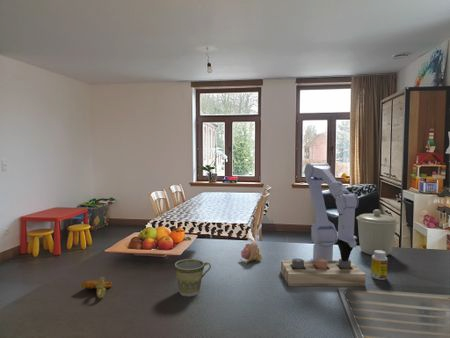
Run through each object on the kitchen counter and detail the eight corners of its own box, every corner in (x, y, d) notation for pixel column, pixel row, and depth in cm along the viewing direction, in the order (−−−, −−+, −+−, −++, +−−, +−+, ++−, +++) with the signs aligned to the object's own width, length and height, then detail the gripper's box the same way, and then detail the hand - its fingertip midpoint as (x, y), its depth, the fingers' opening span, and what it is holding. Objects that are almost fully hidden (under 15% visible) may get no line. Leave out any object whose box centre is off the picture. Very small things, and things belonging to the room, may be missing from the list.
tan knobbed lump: (260, 258, 149) (269, 248, 143) (251, 274, 142) (260, 264, 136) (244, 246, 151) (251, 235, 144) (234, 261, 144) (241, 251, 137)
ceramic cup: (180, 301, 106) (180, 271, 105) (170, 289, 115) (170, 261, 114) (216, 293, 112) (217, 264, 111) (204, 282, 121) (205, 255, 120)
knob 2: (336, 267, 128) (336, 258, 128) (347, 267, 128) (348, 258, 128) (340, 271, 124) (341, 262, 123) (352, 271, 124) (352, 262, 123)
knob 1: (290, 267, 127) (291, 258, 127) (302, 267, 127) (302, 258, 127) (293, 271, 123) (293, 262, 123) (305, 271, 123) (305, 262, 123)
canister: (394, 262, 144) (397, 215, 143) (351, 254, 154) (353, 210, 152) (398, 251, 160) (400, 208, 158) (358, 245, 169) (360, 204, 168)
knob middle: (313, 267, 128) (314, 258, 127) (324, 267, 128) (325, 258, 127) (317, 271, 123) (317, 262, 123) (328, 271, 123) (329, 262, 123)
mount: (280, 271, 132) (281, 260, 132) (349, 271, 133) (349, 260, 133) (288, 286, 118) (289, 274, 118) (365, 286, 119) (365, 274, 119)
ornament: (79, 272, 116) (89, 277, 104) (109, 273, 122) (121, 278, 110) (75, 293, 115) (85, 300, 102) (106, 292, 120) (118, 299, 108)
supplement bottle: (381, 281, 124) (382, 254, 123) (367, 276, 128) (369, 250, 127) (389, 278, 127) (390, 252, 126) (376, 273, 131) (377, 248, 131)
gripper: (365, 230, 117) (363, 267, 118) (348, 220, 132) (347, 254, 133) (345, 230, 117) (344, 267, 118) (331, 220, 132) (330, 253, 133)
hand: (344, 260), depth 125 cm, fingers closed
